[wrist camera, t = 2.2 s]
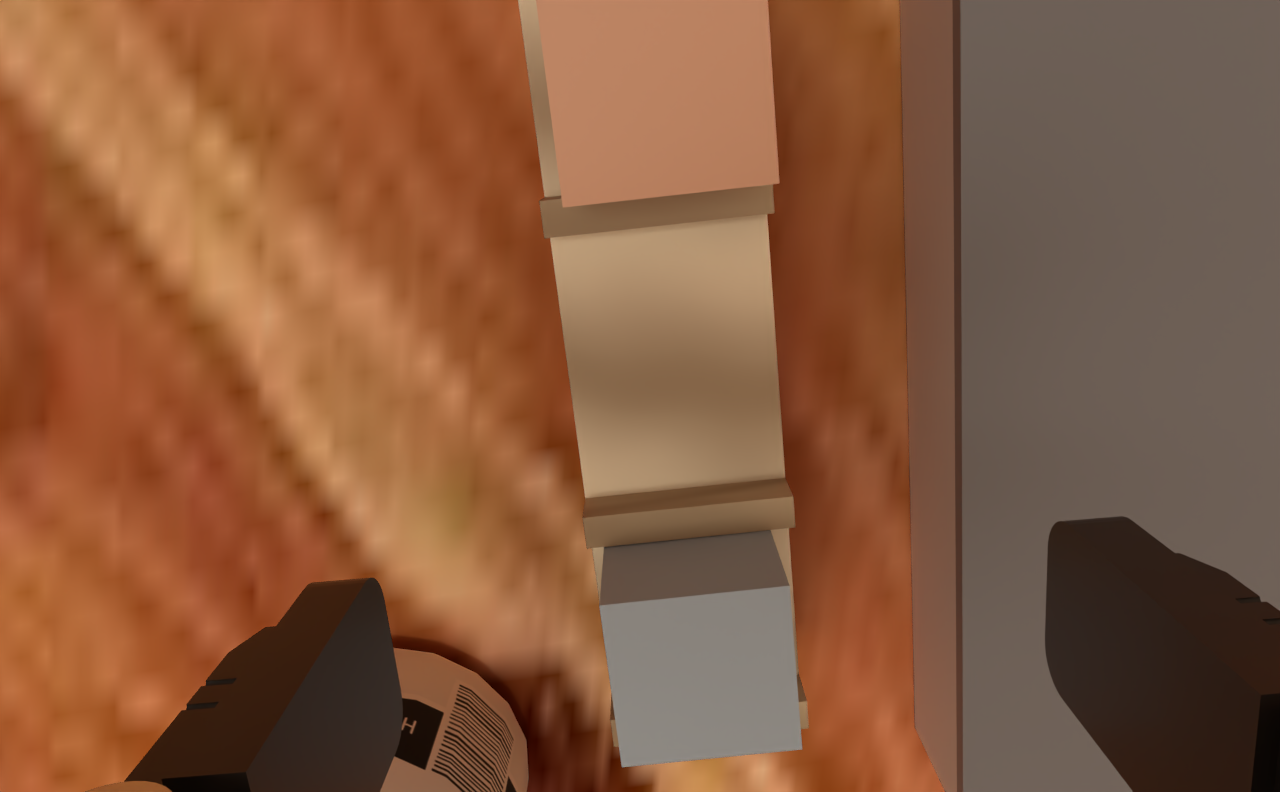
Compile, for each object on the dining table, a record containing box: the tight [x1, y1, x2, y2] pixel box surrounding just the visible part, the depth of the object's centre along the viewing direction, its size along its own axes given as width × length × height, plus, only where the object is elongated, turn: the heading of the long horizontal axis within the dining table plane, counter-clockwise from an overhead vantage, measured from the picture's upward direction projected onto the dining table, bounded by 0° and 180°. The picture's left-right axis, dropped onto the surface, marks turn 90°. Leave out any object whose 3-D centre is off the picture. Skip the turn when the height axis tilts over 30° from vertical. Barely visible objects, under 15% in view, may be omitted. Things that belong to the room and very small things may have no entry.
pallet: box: [518, 0, 809, 747], centre depth 23 cm, size 20×5×6 cm, turn 6°
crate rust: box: [536, 0, 780, 207], centre depth 18 cm, size 4×4×4 cm
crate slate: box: [599, 530, 802, 767], centre depth 21 cm, size 4×4×4 cm
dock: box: [900, 0, 1280, 792], centre depth 24 cm, size 24×9×4 cm, turn 6°
